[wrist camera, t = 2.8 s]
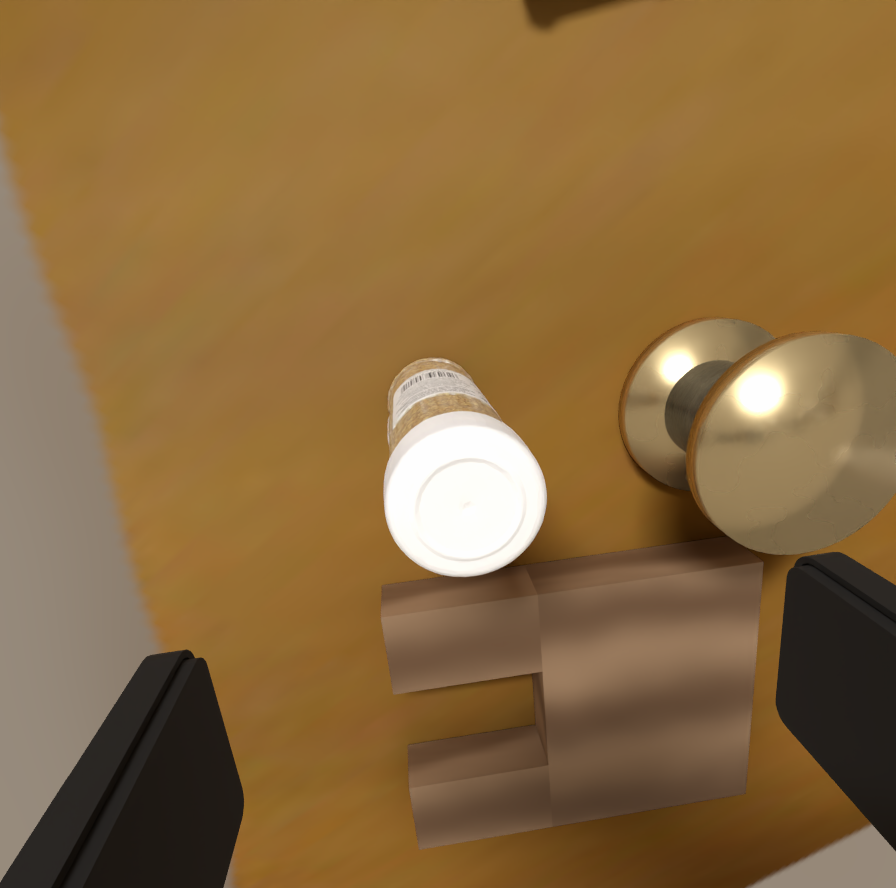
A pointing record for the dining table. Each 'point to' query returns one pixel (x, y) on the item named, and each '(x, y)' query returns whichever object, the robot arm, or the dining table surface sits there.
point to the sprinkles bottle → (457, 475)
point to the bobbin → (767, 429)
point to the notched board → (583, 685)
